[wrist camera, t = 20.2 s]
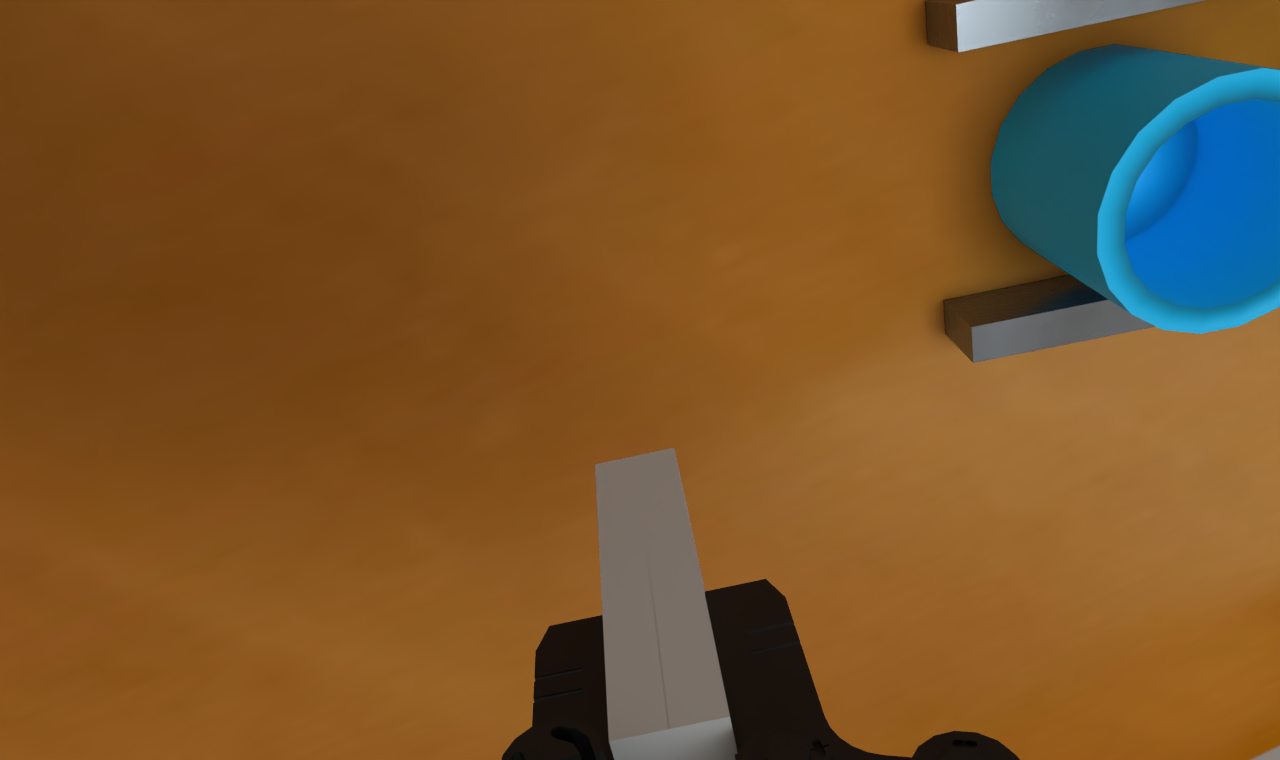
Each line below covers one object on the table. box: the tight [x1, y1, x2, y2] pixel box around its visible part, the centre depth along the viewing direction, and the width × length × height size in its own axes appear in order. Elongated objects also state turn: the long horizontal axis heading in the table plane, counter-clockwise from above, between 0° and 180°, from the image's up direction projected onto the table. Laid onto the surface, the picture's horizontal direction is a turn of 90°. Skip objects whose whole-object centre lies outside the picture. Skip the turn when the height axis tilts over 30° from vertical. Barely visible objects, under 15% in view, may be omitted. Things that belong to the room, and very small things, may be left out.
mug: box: [991, 44, 1280, 334], centre depth 32 cm, size 12×8×8 cm
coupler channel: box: [925, 0, 1204, 363], centre depth 31 cm, size 13×16×9 cm
